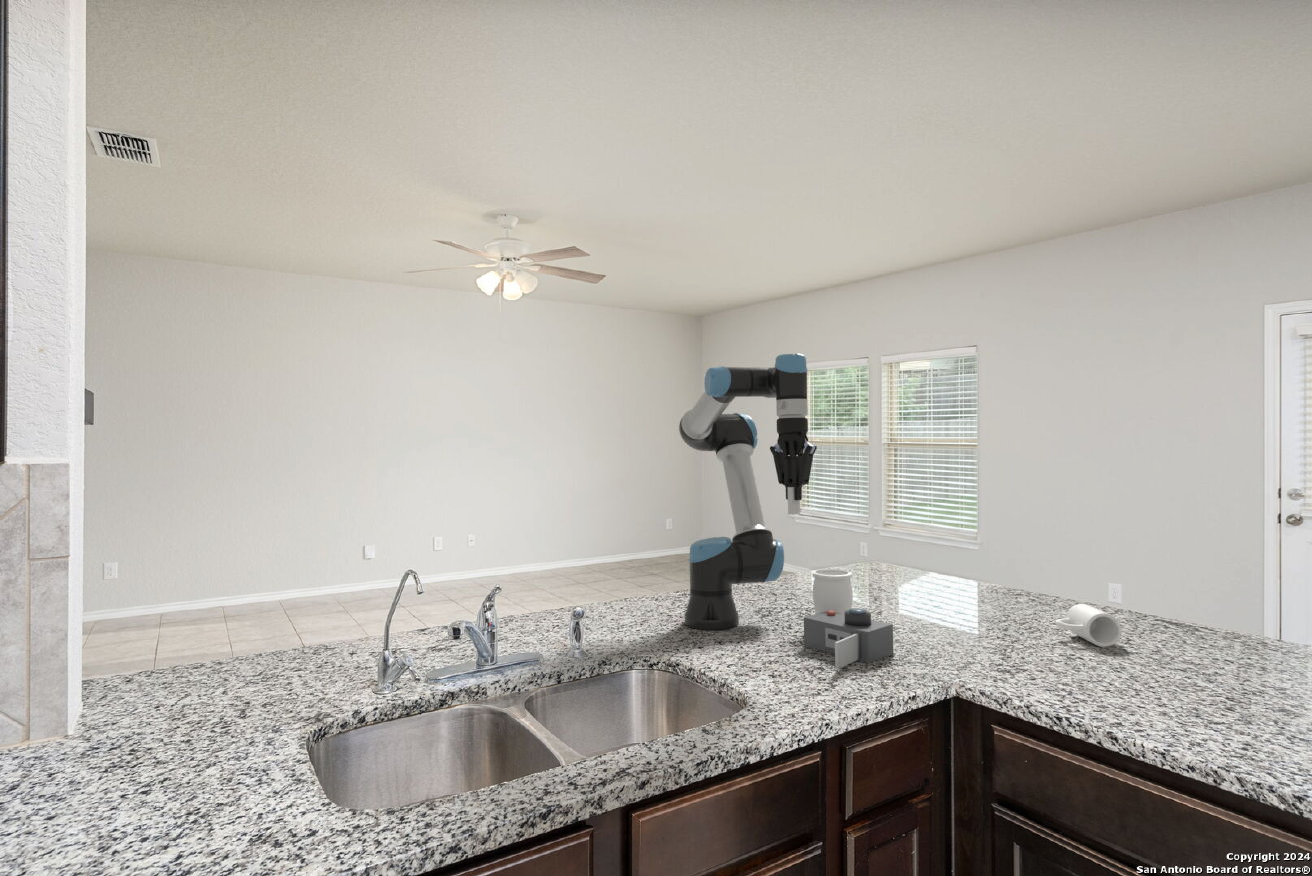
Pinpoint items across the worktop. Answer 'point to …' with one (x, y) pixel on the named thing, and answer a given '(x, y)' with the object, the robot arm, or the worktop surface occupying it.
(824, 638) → the camera body
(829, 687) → the worktop surface
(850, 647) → the side door
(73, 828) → the worktop surface
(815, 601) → the jar
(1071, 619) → the mug
